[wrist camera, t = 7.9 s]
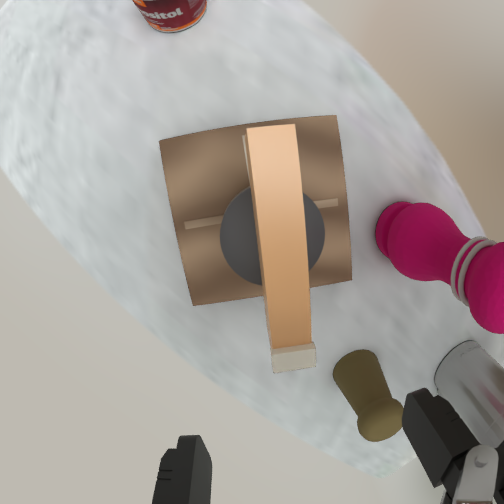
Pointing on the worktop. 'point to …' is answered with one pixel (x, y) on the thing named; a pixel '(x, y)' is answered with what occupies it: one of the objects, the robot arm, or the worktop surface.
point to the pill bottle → (171, 13)
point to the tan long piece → (276, 241)
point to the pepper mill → (445, 258)
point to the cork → (368, 395)
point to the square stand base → (235, 180)
